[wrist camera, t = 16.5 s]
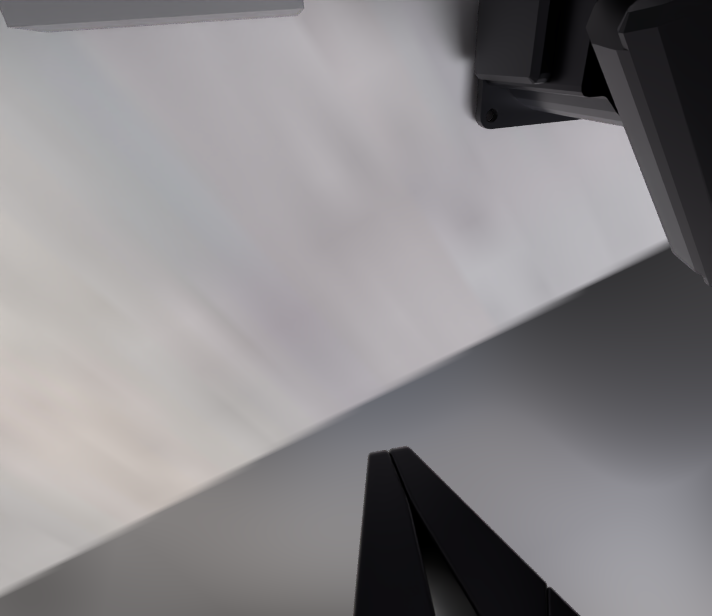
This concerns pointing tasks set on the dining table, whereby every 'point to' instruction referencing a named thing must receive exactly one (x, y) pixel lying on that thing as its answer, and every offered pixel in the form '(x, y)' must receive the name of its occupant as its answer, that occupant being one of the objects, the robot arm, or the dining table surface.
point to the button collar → (135, 12)
